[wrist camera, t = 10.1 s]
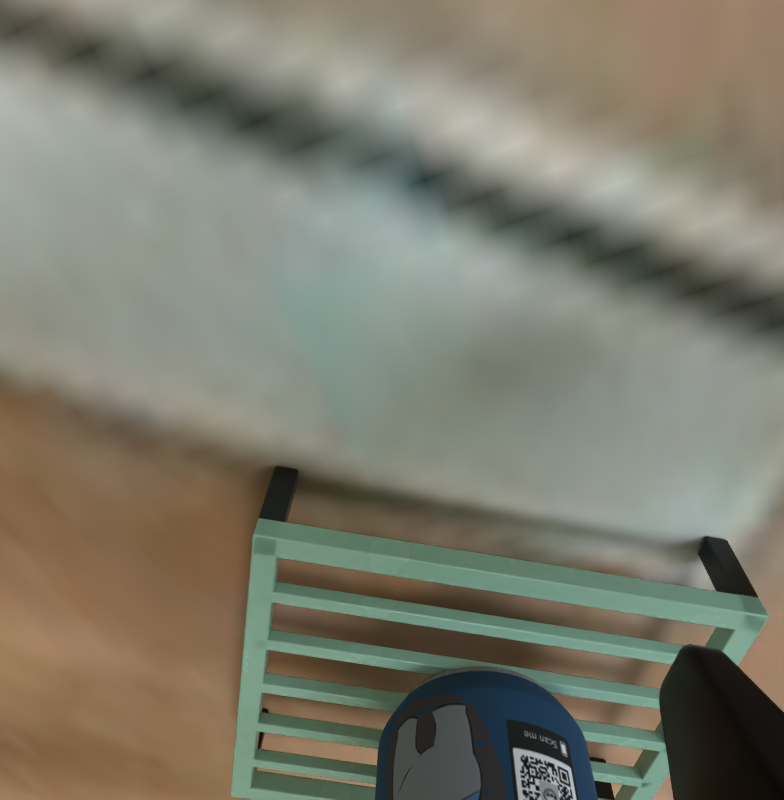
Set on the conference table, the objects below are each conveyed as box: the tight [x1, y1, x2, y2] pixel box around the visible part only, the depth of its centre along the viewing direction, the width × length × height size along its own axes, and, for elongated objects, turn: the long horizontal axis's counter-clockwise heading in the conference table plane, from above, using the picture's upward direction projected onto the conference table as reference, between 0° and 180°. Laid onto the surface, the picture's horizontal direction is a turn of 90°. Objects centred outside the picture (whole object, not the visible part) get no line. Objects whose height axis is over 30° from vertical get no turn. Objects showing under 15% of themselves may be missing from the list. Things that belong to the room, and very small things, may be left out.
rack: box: [230, 467, 769, 800], centre depth 26 cm, size 16×14×4 cm
